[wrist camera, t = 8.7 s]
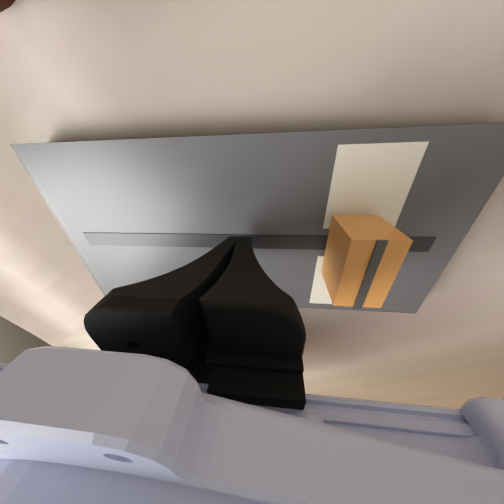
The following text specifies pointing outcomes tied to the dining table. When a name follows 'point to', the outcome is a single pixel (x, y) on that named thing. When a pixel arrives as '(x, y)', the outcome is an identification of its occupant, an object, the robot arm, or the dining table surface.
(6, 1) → the food container
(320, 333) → the dining table surface
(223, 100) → the dining table surface
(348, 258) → the fader
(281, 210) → the console
